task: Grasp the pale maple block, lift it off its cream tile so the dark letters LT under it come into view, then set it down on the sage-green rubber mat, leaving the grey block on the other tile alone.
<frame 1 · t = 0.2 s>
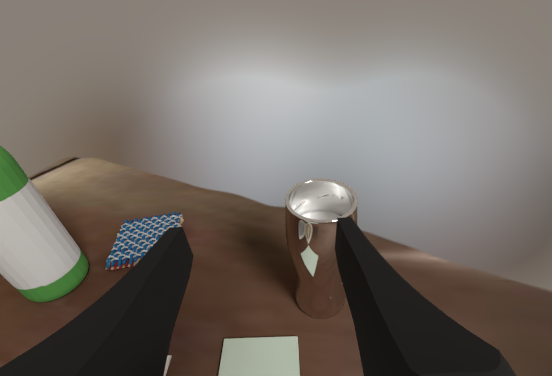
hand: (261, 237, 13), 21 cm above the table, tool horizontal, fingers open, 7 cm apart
woven mat: (150, 244, 44), on the table
wine bottle: (62, 281, 39), on the table
silver metal cup: (319, 296, 33), on the table
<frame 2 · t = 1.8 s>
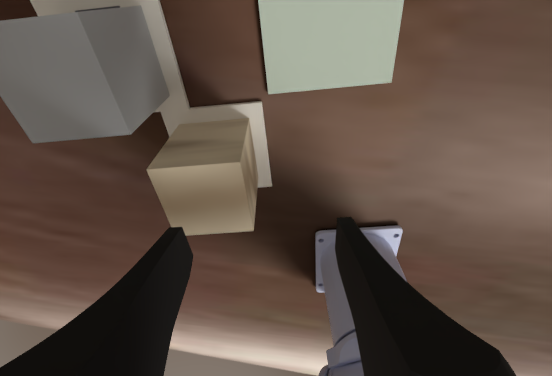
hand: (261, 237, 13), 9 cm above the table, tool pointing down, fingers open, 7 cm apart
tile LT: (222, 150, 21), on the table
grey block: (117, 58, 17), resting on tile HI
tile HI: (119, 57, 17), on the table
maple block: (221, 152, 20), resting on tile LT
mat: (329, 16, 16), on the table
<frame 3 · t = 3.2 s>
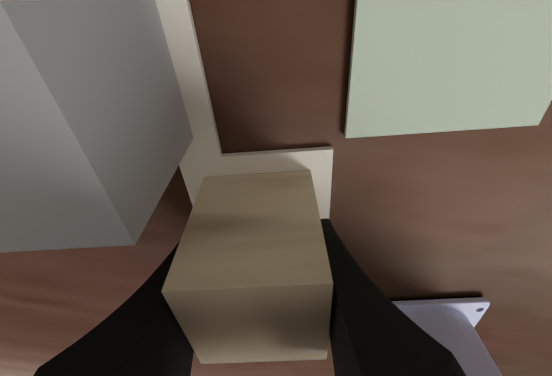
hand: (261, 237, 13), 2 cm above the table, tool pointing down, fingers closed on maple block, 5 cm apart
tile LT: (262, 209, 14), on the table
grey block: (111, 82, 10), resting on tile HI
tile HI: (115, 80, 10), on the table
maple block: (262, 213, 14), resting on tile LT, touching gripper
mat: (469, 20, 9), on the table
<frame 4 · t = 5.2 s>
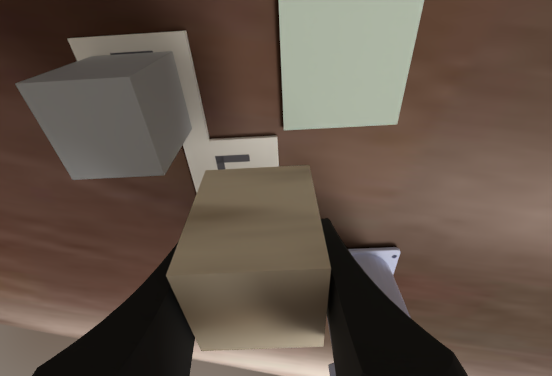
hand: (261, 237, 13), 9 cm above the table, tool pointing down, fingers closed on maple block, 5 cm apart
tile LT: (236, 177, 22), on the table
grey block: (145, 95, 18), resting on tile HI
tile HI: (147, 93, 18), on the table
maple block: (261, 207, 14), point 7 cm above the table, touching gripper
mat: (344, 66, 17), on the table
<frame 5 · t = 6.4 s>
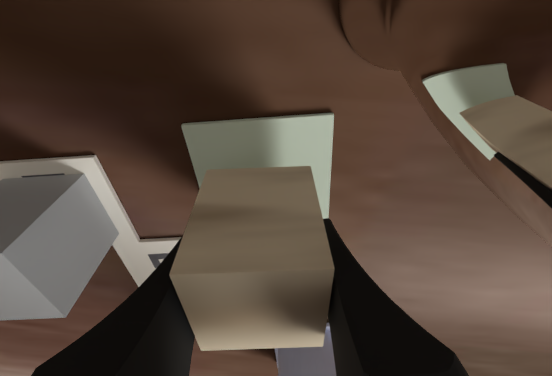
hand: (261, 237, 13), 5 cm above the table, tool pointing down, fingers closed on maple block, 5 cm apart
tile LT: (174, 268, 22), on the table
grey block: (65, 208, 18), resting on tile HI
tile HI: (68, 205, 18), on the table
maple block: (261, 207, 15), point 3 cm above the table, touching gripper
mat: (264, 180, 17), on the table
when the fingers open (3 cm above the table, at t = 7.2 s): maple block stays where it is, resting on mat.
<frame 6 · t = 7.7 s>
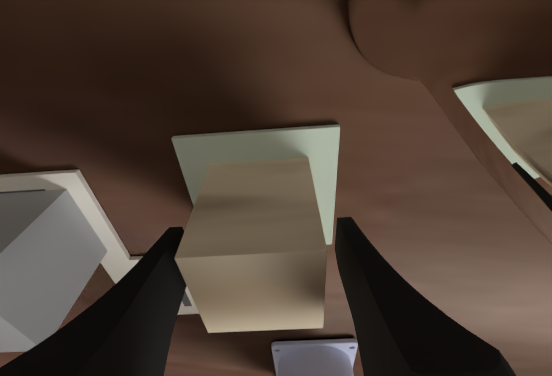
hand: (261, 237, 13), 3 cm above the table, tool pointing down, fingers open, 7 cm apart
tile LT: (168, 286, 20), on the table
grey block: (48, 225, 16), resting on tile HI
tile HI: (51, 221, 16), on the table
maple block: (263, 199, 15), resting on mat
mat: (263, 195, 15), on the table
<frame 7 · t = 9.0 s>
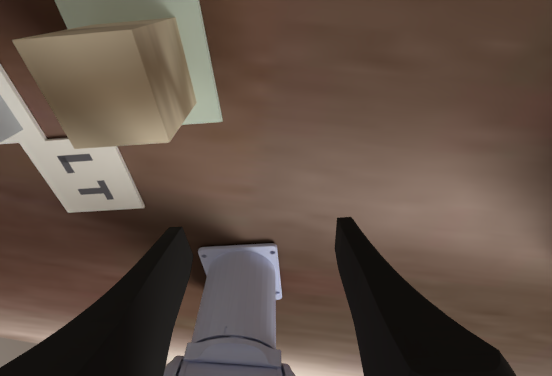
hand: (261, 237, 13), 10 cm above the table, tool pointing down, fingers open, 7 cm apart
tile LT: (88, 176, 23), on the table
maple block: (148, 66, 17), resting on mat
mat: (149, 65, 18), on the table
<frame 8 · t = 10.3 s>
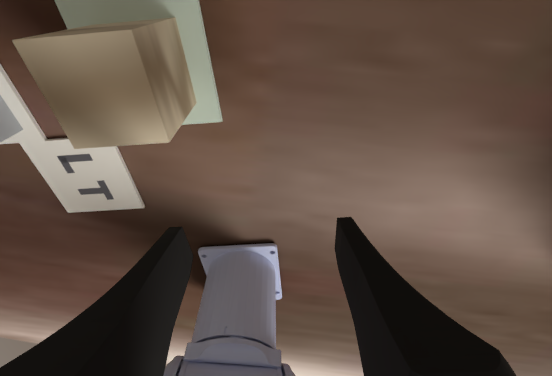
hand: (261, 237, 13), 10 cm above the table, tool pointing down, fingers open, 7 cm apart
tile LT: (88, 176, 23), on the table
maple block: (148, 66, 17), resting on mat
mat: (149, 65, 18), on the table
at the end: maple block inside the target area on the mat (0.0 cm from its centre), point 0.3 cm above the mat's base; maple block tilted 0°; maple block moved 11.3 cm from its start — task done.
